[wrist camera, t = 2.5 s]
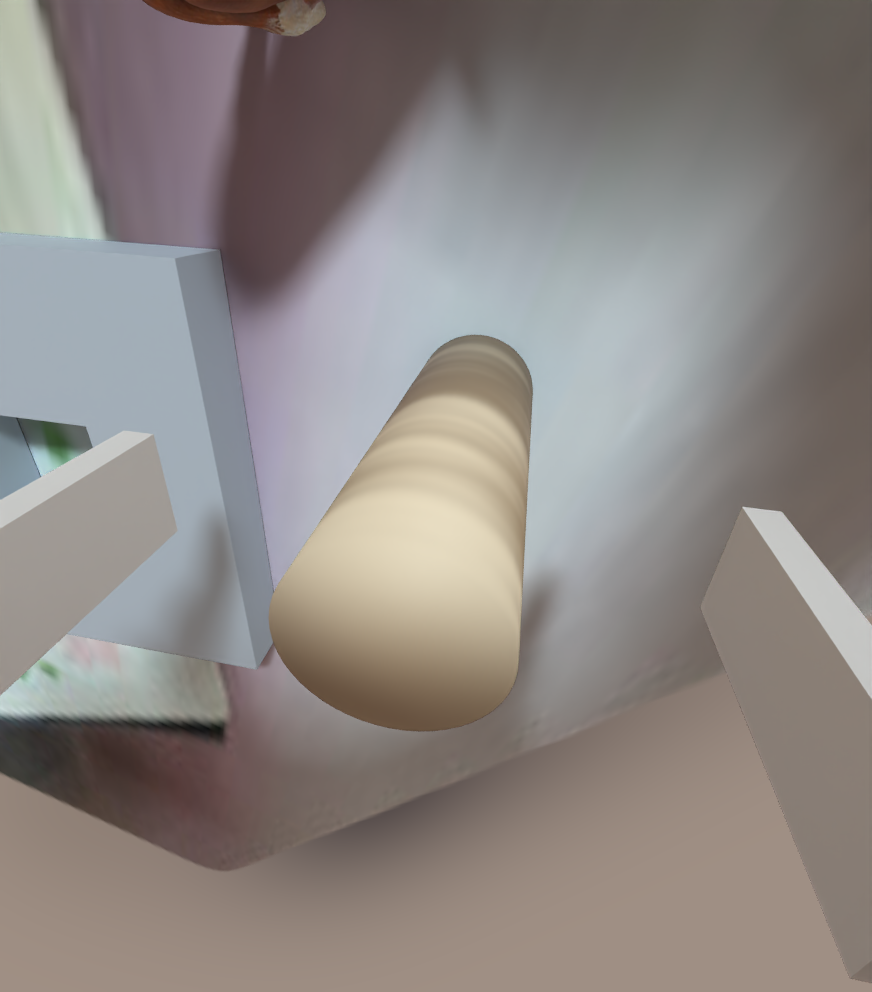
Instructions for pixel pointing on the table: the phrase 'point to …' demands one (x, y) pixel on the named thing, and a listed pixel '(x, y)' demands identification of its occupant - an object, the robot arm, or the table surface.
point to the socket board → (145, 425)
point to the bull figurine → (248, 13)
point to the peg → (421, 554)
